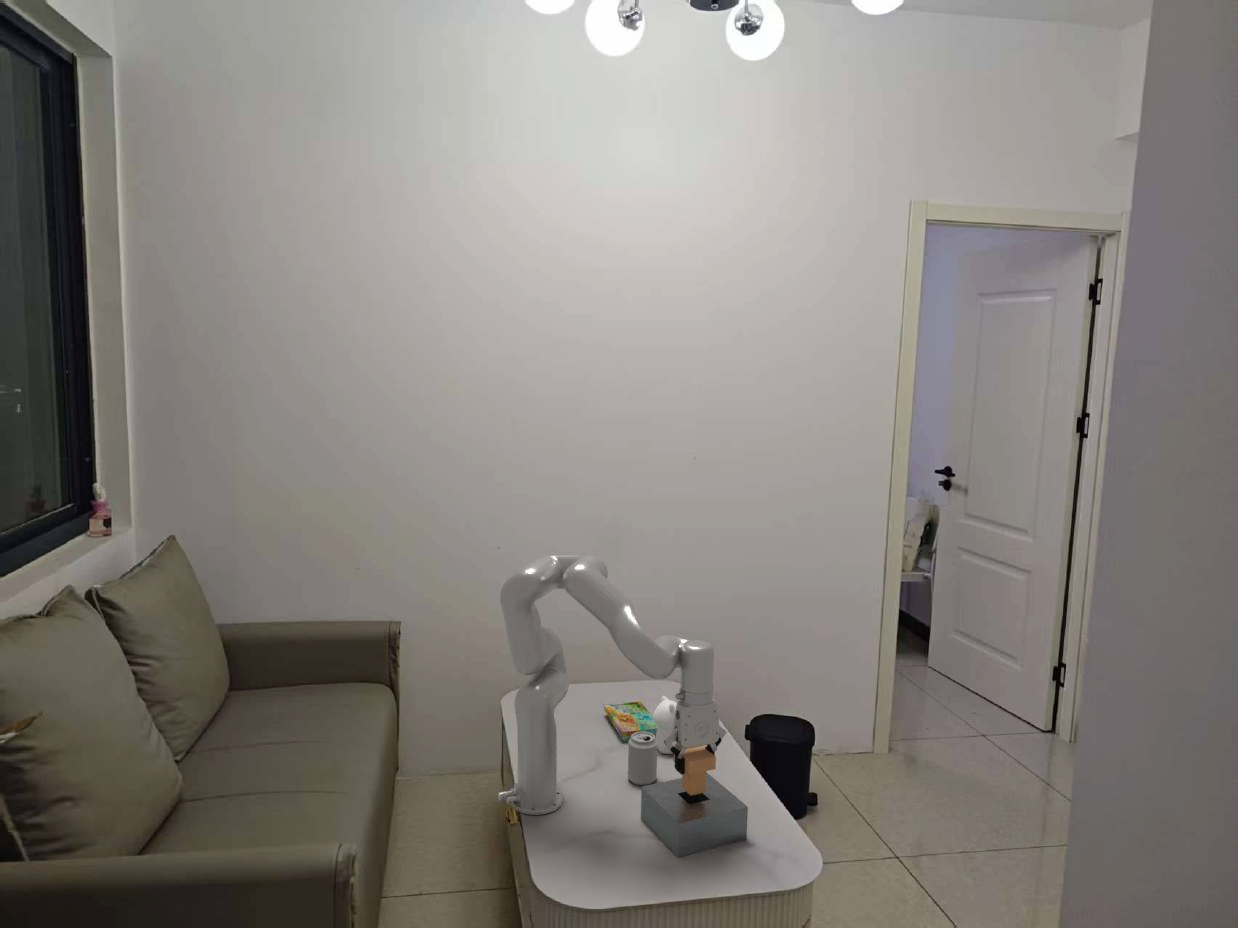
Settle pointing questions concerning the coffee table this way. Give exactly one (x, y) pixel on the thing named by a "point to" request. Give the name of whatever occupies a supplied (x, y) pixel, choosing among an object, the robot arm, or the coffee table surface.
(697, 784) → the tan cardboard box
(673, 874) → the coffee table surface
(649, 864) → the coffee table surface
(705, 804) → the grey square socket block
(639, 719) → the puzzle game
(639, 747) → the can
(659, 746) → the cat figurine
